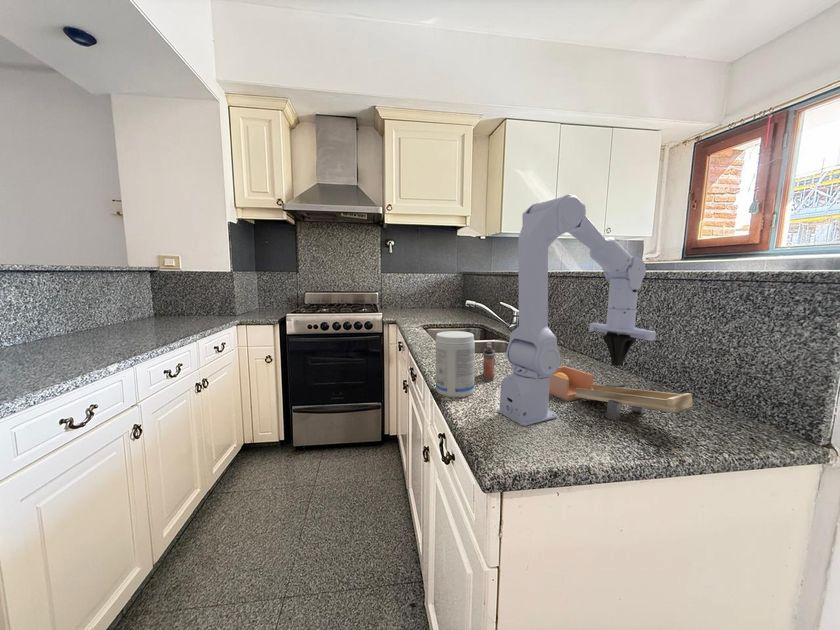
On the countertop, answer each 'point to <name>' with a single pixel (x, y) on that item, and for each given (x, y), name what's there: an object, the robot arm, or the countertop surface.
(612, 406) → the pivot stand
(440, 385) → the supplement tub
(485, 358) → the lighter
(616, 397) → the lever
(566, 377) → the ball
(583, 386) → the tray
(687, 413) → the countertop surface
